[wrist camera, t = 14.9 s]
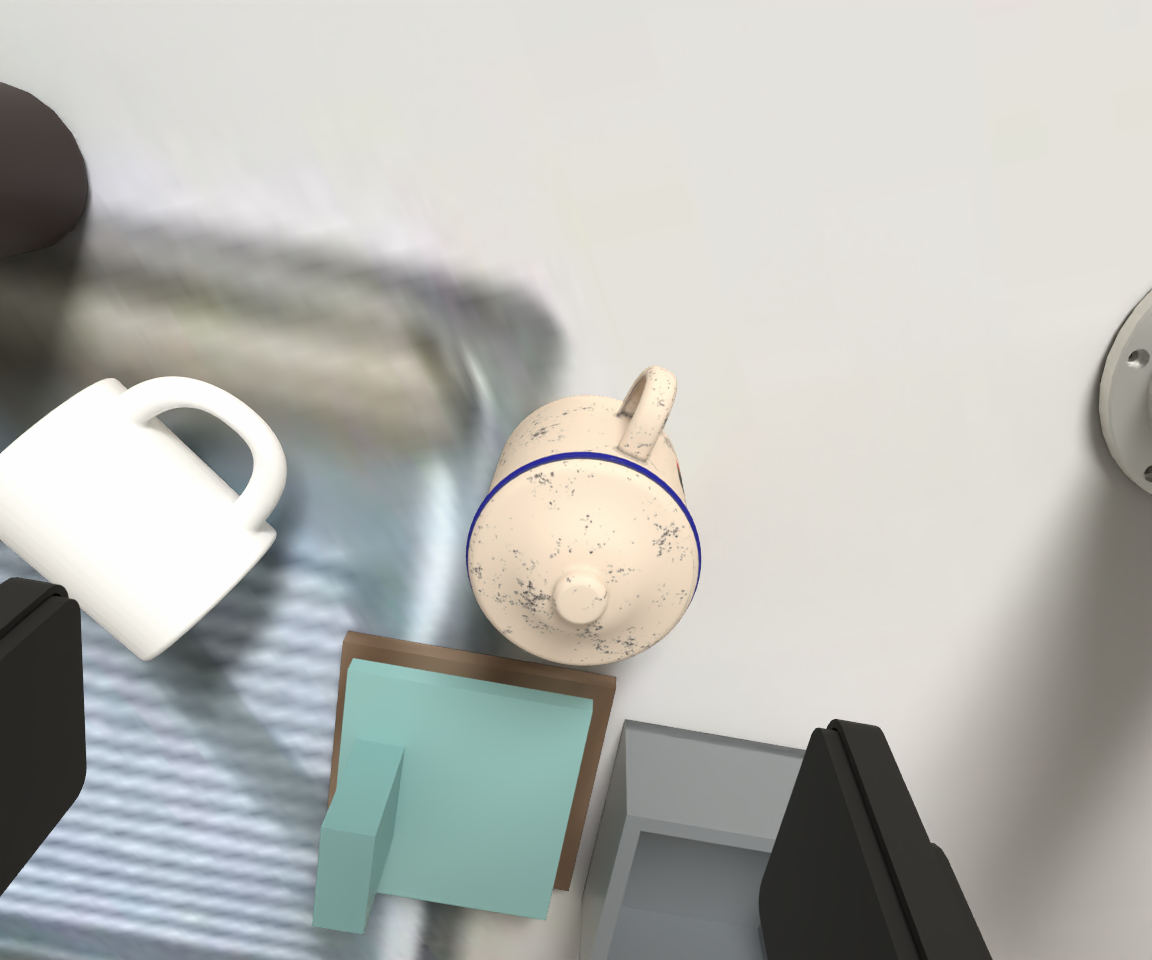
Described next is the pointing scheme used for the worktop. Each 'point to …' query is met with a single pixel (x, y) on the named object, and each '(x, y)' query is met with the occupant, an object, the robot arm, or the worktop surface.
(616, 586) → the teacup with lid
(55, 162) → the bottle
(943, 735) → the worktop surface
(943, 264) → the worktop surface
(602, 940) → the tub
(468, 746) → the lid
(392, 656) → the board
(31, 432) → the mug
